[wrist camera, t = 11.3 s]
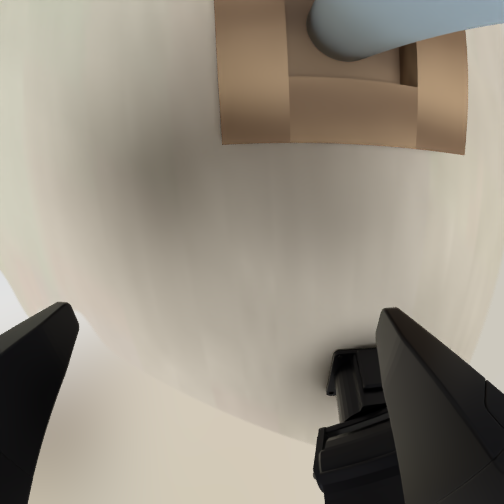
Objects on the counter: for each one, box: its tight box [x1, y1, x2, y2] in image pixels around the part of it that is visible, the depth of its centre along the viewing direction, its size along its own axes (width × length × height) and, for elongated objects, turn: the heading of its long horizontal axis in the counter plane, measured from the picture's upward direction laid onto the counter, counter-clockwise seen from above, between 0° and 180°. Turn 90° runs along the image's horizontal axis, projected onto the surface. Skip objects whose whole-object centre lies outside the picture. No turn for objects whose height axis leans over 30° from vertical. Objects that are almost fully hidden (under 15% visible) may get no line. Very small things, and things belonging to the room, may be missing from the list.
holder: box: [214, 0, 468, 155], centre depth 13 cm, size 14×14×3 cm
